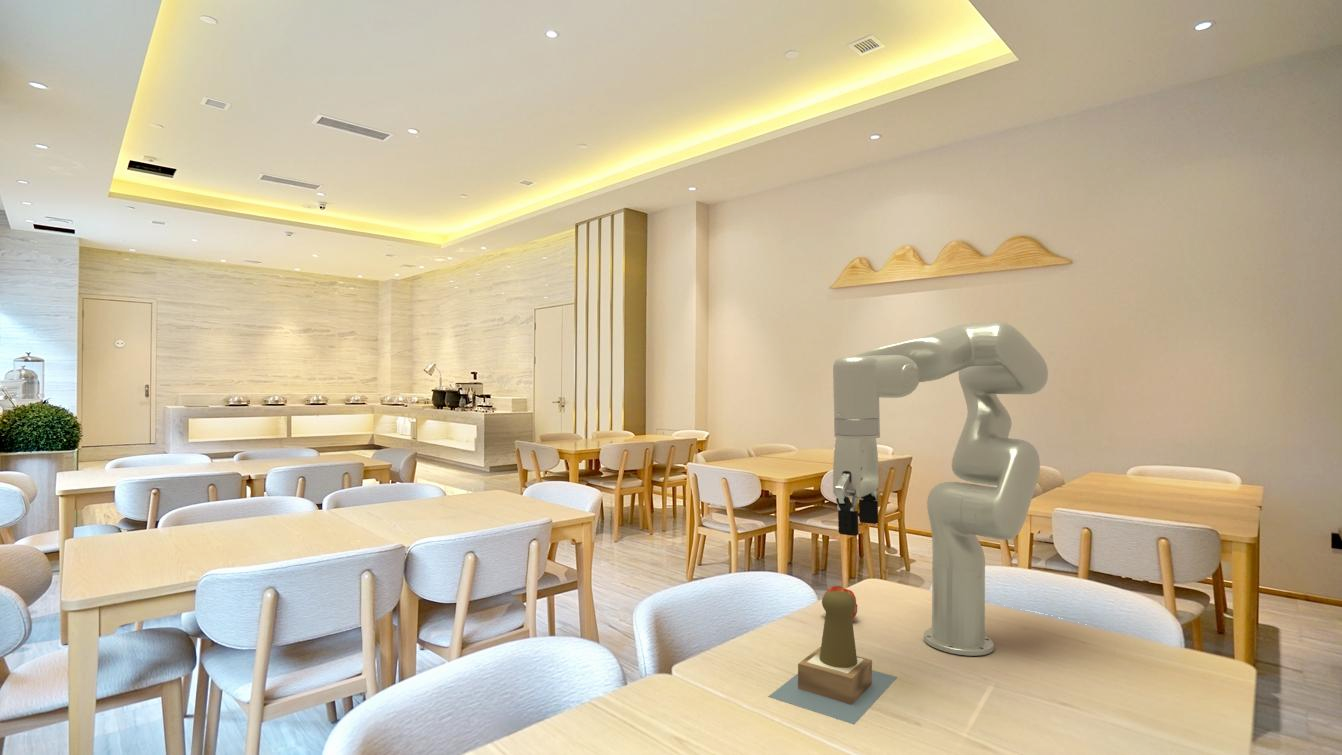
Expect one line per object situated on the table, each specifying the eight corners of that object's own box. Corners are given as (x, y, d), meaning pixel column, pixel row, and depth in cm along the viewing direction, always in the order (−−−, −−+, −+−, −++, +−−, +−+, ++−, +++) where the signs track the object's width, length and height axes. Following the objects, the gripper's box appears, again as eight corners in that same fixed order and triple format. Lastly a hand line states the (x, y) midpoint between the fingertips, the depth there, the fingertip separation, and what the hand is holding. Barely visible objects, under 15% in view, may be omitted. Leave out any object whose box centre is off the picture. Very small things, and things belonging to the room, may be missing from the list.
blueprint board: (819, 661, 120) (819, 656, 120) (897, 682, 111) (897, 677, 111) (768, 702, 103) (768, 696, 104) (854, 731, 95) (854, 724, 95)
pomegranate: (817, 626, 144) (829, 610, 136) (815, 593, 149) (827, 576, 141) (850, 630, 144) (864, 615, 136) (848, 597, 149) (861, 581, 141)
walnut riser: (820, 670, 114) (820, 645, 114) (871, 684, 108) (871, 658, 108) (797, 688, 106) (798, 662, 107) (851, 704, 101) (851, 677, 101)
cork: (858, 669, 104) (859, 599, 104) (819, 665, 105) (820, 596, 106) (855, 654, 110) (856, 588, 110) (818, 651, 111) (819, 586, 111)
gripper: (853, 424, 121) (855, 516, 122) (815, 432, 107) (817, 536, 108) (894, 425, 117) (896, 521, 117) (860, 433, 103) (862, 542, 103)
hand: (859, 528), depth 112 cm, fingers open, 9 cm apart
